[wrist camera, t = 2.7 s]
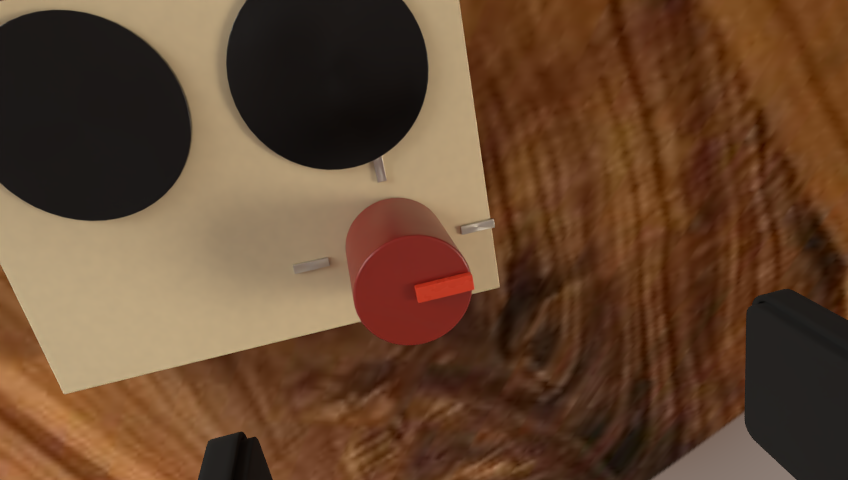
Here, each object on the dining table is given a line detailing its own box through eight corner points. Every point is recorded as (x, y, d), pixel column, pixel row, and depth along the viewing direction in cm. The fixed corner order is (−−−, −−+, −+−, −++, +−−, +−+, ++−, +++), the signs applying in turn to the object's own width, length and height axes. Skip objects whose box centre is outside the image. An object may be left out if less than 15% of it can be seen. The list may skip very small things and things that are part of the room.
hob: (99, 376, 26) (73, 419, 23) (-62, 21, 21) (-122, 21, 18) (486, 281, 28) (506, 311, 25) (433, -66, 23) (452, -79, 20)
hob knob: (357, 301, 24) (368, 363, 20) (334, 209, 23) (341, 254, 18) (451, 278, 24) (483, 334, 20) (435, 187, 23) (466, 225, 19)
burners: (19, 238, 21) (16, 240, 21) (-76, 32, 18) (-82, 32, 18) (441, 146, 23) (443, 148, 22) (408, -54, 20) (409, -55, 20)
